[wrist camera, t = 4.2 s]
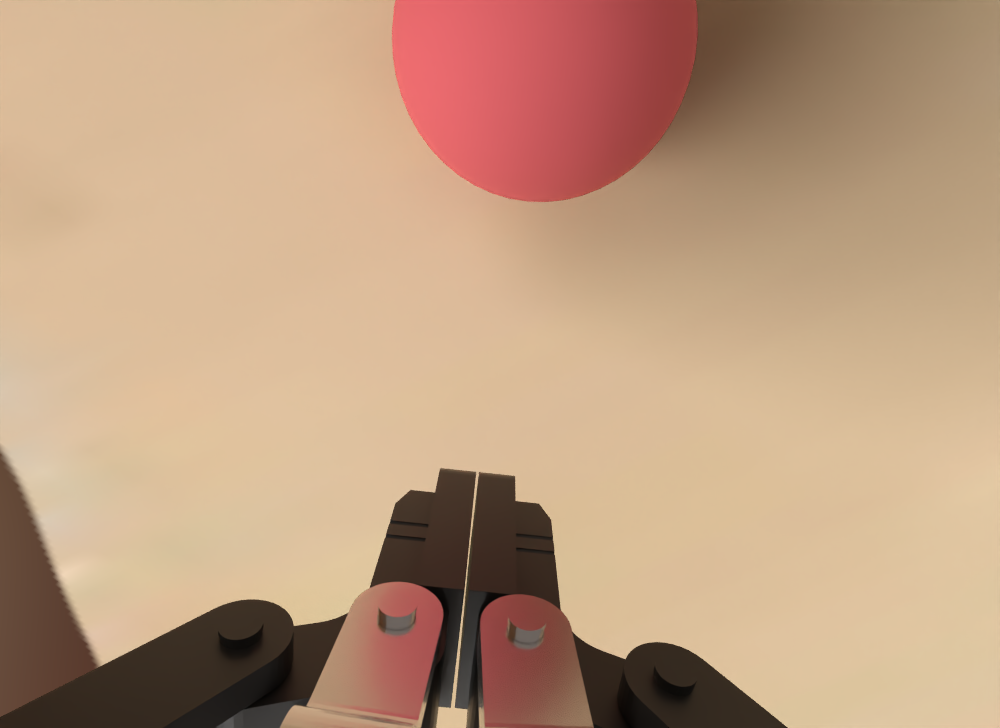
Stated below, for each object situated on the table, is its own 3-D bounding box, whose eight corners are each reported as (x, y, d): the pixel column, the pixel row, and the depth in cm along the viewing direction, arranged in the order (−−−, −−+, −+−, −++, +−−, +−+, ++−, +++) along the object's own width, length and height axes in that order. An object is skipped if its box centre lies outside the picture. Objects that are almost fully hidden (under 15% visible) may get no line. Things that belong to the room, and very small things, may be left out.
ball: (682, -66, 15) (781, -191, 9) (640, 200, 17) (700, 233, 11) (423, -91, 15) (362, -231, 9) (412, 179, 17) (356, 200, 11)
